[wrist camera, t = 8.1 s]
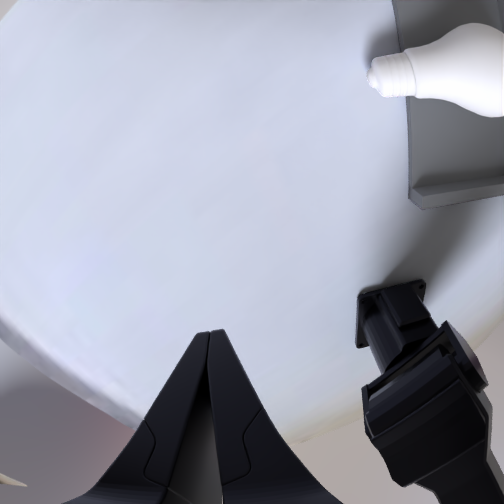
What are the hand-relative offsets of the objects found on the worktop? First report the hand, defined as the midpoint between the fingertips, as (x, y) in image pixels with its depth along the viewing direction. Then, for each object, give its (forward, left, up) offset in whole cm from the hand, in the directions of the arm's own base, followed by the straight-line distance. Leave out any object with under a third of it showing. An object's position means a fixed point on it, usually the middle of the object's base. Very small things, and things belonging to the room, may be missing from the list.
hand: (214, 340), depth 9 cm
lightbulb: (+6, -10, -11) cm, 16 cm away
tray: (+6, -19, -12) cm, 23 cm away
